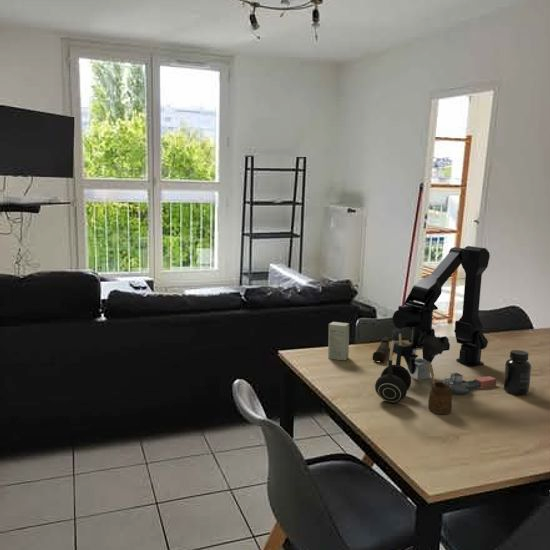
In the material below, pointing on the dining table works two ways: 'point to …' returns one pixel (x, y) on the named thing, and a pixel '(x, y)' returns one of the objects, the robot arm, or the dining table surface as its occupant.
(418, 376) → the square hollow container
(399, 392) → the headphones
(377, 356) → the hand tool
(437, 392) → the utensil holder
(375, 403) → the dining table surface
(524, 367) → the supplement bottle
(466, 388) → the ratchet
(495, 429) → the dining table surface
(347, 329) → the skincare box
